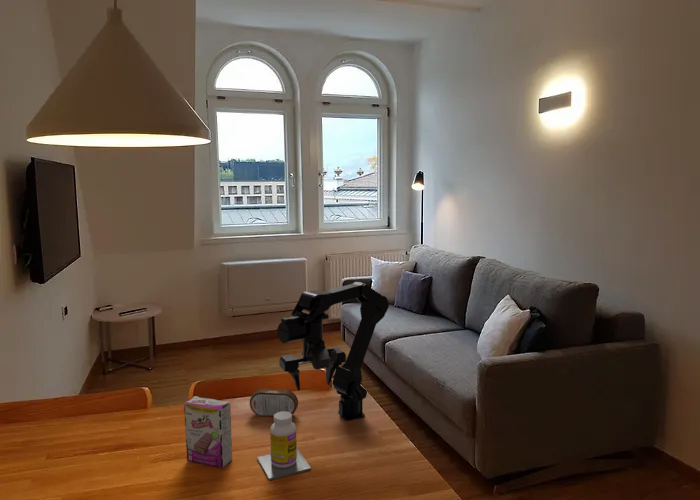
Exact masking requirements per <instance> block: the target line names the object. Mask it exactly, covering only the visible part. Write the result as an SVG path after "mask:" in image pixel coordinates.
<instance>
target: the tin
mask: <svg viewBox="0 0 700 500" xmlns="http://www.w3.org/2000/svg"><path fill="white" fill-rule="evenodd" d="M298 406H299V399H298V396H297V395H296V394H295V393H294V392H292V391H291V390H288V389H281V388H280V389H276V388H275V389H274V388H259V389H256V390H255V391H253V393H252V395H251V397H250V399H249V408H250V410H251V412H253V413H254V414H255V415H257V416H259V417H265V418H266V417H268V418H269V417H270V418H271V417H272V418H274V415H275V414H276V413H278V412H282V411H286V412H290V413H291V414H292V416H293V415H294V414H295V412H296V411H297V409H298V408H299V407H298Z"/></svg>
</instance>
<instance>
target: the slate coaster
mask: <svg viewBox="0 0 700 500" xmlns="http://www.w3.org/2000/svg"><path fill="white" fill-rule="evenodd" d="M256 459H257V461H258V463H259V465H260V467H261V468H262V470H263V473H264V474H265V476H266V477H267V479H268V481H273V480H277V479H281V478H283V477H284V478H285V477H289V476H292V475H296V474H300V473H304V472H307V471H311V470H312V467H311V465H309V463H308V462H307V460H306V459H305V458H304V456H303V454H302V453H301V452H300V450H299V449H298V448H297V460H296V463H295V464H294V465H292V466H290V467H287V468H278V467H275V466H274V465H273V464H272V463H271V453H269V454H265V455H264V454H263V455H260V456H257V457H256Z"/></svg>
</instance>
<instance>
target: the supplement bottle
mask: <svg viewBox="0 0 700 500" xmlns="http://www.w3.org/2000/svg"><path fill="white" fill-rule="evenodd" d="M269 430H270V431H269V435H270V454H271V463H272V464H273V465H274V466H275V467H278V468H287V467H290V466H292V465H294V464H295V463H296V460H297V449H298V447H297V425H296V423H294V422H293V415H292V414H291V413H290V412H286V411H282V412H278V413H276V414H275V415H274V417H273V424H271V426H270V428H269Z"/></svg>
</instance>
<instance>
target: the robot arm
mask: <svg viewBox="0 0 700 500" xmlns="http://www.w3.org/2000/svg"><path fill="white" fill-rule="evenodd" d="M355 299H356V300H357V301H358V302H360V308H359V312H360V317H361V319H360V322H359V325H358V327H357V330H356V331H355V332H356V333H355V336H354V338H353V341H352V344H351V347H350V350H349V352H348V355H347V354H346V352H344V351H343V350H342V349H341V348H339V347H333V348H332V347H331V348H326V344H325V340H324V339H323V338H324V337H323V336H324V335H323V331H324V330H323V325H324V324H323V321H324V320H327V319H329V315H328V314H326V312H327V311H328V310H329V309H330V308H331V307H332V306H334V305H337V304H340V303H344V302H346V301H350V300H355ZM389 307H390V302H389V300H388V298H387V297H386V296H384V295H382V294H381V293H379V292H377V290H375V289H374V288H372V287H371V286H370V285H368V284H367V283H365V282H361V281H355V282H353V283H350V284H346V285H342V286H340V287H339V286H338V287H335V288H332V289H329V290H328V289H327V290H306V291H303V292H302V293H301V294H300V296H299V299H298V301H297V303H296V305H295V307H294V308H293V311H292V312H291V313H290V314H291V315H290V316H289V317H281V318H280V319H281V320H280V322H279V324H278V326H277V328H276V333H277V334H276V335H277V337H278V339H279V341H280V342H281V343H282V344H288V343H292V342H295V341H299V340H301V342H302V351H301V355H302V357H296V356H294V354H290V355H289V354H288V355H282V356H280V358H279V360H278V361H279V365H278V366H279V367H280V368H281V369H282V370H283V371H284V372H286V373H288V374H290V375H291V378H292V379H293V380H292V381H293V383H294V385H295V387H296V389H297V391H298V392H299V391H300V390H301V383H300V369H299V368H300V365H306V364H311V365H312V368H313V369H315V370H317V371H318V370H320V369H325V379H326V385H327V386H330V385H331V382H332V386H333V389H334V390H335V391H336V394H338V395H339V396H340V397H339V398H340V399H339V400H338V411H337V412H338V414H339V415H340V416H341V417H342V418H343V419H344V420H345V421H350V420H355V419H359V418H363V416H364V417H366V414H365V413H364V412H363V407H364V406H363V402H364V401H363V400H364V399H366V398H367V395H368V390H367V389H366V388H364V387H363V386H362V381H363V376H362V366H363V363H364V360H365V357H366V354H367V352H368V348H369V346H370V343H371V340H372V337H373V334H374V332H375V329H376V326H377V324H378V323H379V322H380V321H381V320H382V319H384V317H385V315H386V314H387V311H388V309H389ZM332 379H333V380H332Z"/></svg>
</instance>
